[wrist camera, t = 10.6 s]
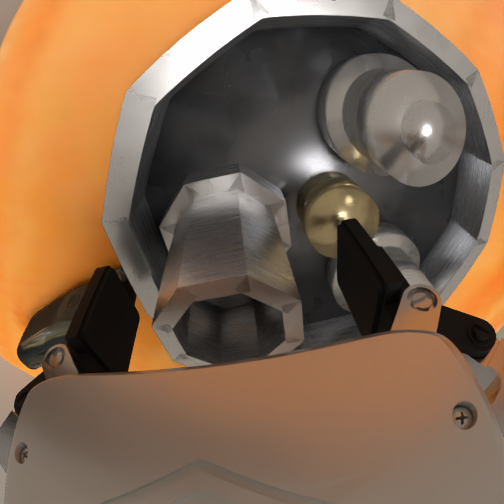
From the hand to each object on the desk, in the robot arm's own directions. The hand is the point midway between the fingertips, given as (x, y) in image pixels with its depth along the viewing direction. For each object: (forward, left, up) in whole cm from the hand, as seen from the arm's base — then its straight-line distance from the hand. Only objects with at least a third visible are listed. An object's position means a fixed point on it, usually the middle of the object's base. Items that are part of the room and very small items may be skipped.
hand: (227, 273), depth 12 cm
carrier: (0, -6, -5) cm, 8 cm away
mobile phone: (-5, +12, -6) cm, 15 cm away
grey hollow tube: (0, 0, -4) cm, 4 cm away
